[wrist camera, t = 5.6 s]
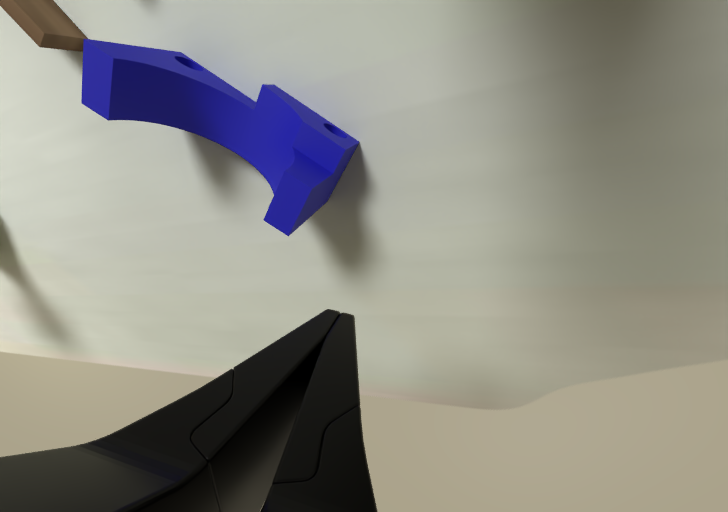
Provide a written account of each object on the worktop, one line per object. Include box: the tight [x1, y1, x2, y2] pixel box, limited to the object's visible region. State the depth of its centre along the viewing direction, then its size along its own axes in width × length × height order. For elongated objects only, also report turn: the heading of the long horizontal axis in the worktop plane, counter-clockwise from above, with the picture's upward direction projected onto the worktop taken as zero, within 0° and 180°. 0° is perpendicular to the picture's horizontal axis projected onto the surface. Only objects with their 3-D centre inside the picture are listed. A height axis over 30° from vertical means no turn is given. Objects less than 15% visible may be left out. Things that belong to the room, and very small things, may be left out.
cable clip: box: [82, 39, 359, 236], centre depth 17 cm, size 12×4×6 cm, turn 60°
